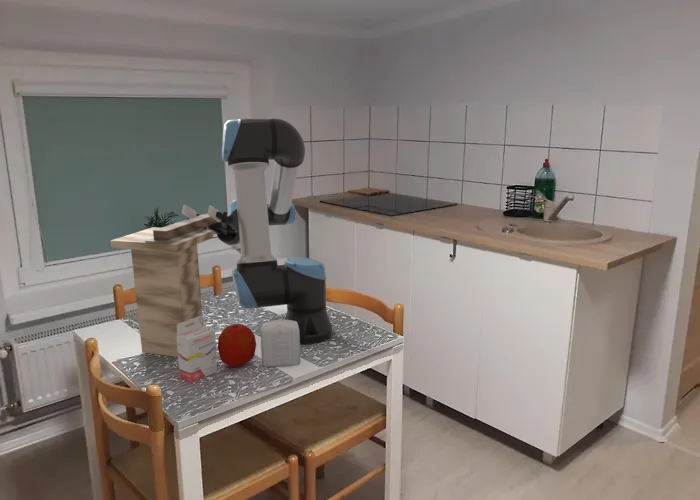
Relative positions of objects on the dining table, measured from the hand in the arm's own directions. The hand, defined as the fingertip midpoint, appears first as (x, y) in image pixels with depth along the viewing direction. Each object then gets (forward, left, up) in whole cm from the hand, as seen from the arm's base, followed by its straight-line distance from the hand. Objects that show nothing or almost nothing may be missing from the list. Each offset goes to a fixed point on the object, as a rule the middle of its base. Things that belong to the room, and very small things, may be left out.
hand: (196, 209), depth 161 cm
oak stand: (+1, +11, -39) cm, 40 cm away
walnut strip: (-1, +5, -5) cm, 7 cm away
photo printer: (-32, +4, -39) cm, 51 cm away
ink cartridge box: (-18, +20, -39) cm, 47 cm away
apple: (-22, +10, -39) cm, 46 cm away
